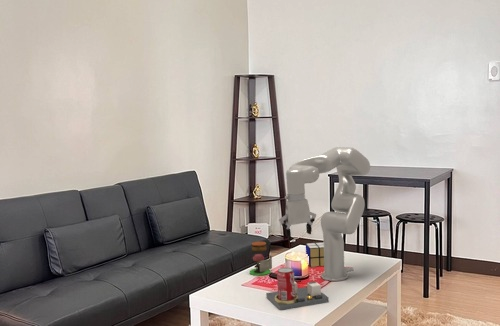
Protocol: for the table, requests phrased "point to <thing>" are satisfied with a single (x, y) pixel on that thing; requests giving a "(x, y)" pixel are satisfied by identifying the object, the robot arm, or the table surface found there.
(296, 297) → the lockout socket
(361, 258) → the table surface
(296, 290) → the block
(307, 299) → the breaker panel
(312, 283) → the block
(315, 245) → the puzzle cube
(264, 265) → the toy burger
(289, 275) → the soda can
